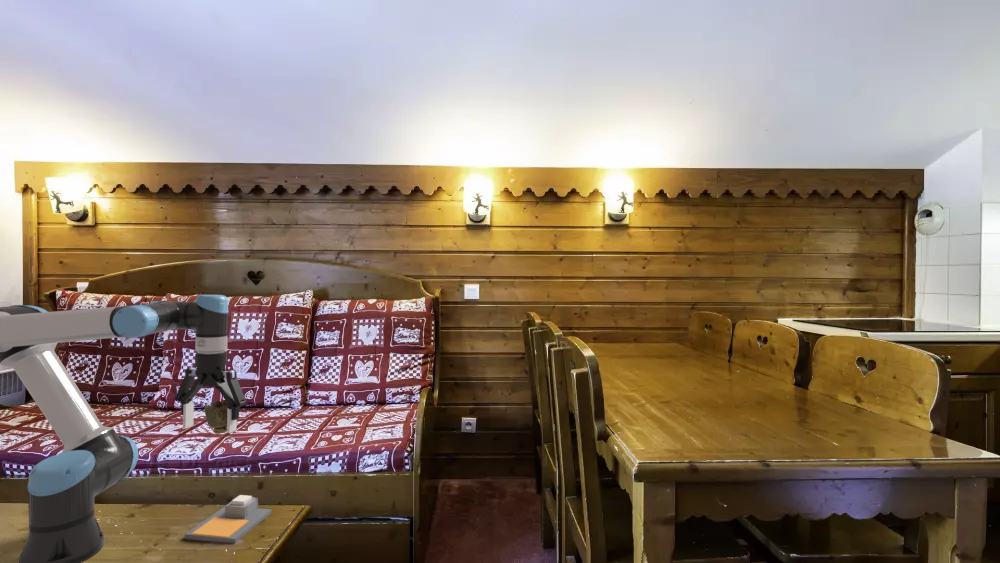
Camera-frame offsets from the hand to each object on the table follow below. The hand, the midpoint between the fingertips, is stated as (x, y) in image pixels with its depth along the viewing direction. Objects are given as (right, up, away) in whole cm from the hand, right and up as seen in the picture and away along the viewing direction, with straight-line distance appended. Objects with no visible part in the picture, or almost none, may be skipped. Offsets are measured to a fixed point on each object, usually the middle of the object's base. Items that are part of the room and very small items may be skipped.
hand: (209, 429), depth 131 cm
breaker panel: (+7, -25, -3) cm, 26 cm away
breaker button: (+8, -23, +2) cm, 24 cm away
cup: (+3, -1, -1) cm, 4 cm away
